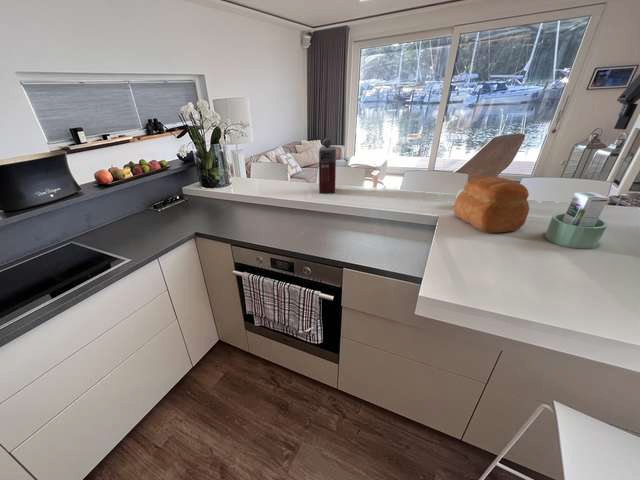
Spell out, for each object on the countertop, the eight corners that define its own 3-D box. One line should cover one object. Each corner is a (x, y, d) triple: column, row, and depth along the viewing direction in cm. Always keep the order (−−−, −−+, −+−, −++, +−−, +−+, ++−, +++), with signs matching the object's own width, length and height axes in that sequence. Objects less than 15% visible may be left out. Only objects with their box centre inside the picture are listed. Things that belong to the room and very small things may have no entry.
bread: (481, 235, 102) (495, 189, 94) (447, 215, 121) (456, 174, 112) (529, 231, 103) (547, 184, 94) (487, 211, 121) (500, 170, 113)
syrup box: (554, 234, 98) (573, 192, 90) (574, 233, 97) (595, 191, 89) (566, 241, 93) (587, 197, 85) (587, 241, 92) (610, 197, 85)
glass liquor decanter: (319, 194, 159) (318, 140, 145) (319, 189, 169) (318, 138, 155) (335, 194, 158) (336, 139, 144) (334, 188, 167) (335, 136, 153)
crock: (573, 230, 100) (582, 212, 97) (608, 247, 89) (620, 226, 86) (535, 233, 101) (542, 214, 98) (565, 249, 90) (575, 229, 86)
